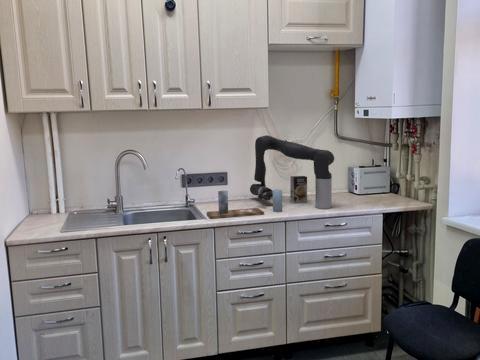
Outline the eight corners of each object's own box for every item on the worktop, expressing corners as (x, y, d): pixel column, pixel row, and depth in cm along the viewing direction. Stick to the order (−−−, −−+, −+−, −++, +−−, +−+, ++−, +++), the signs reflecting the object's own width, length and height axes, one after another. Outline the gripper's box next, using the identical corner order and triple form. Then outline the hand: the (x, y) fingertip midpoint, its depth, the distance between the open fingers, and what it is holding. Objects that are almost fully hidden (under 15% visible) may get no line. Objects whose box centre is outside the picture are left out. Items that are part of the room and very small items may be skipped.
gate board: (257, 210, 252) (257, 187, 250) (264, 214, 240) (263, 190, 238) (206, 214, 245) (205, 190, 243) (210, 219, 233) (209, 194, 231)
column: (275, 209, 252) (275, 189, 250) (283, 210, 249) (283, 189, 247) (271, 211, 247) (271, 190, 246) (279, 212, 245) (279, 191, 243)
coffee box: (294, 203, 269) (293, 177, 267) (290, 201, 276) (289, 176, 273) (307, 202, 272) (307, 176, 269) (303, 200, 278) (303, 175, 276)
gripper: (254, 187, 268) (261, 192, 252) (276, 186, 271) (284, 190, 256) (254, 199, 269) (261, 204, 253) (276, 198, 272) (285, 202, 257)
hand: (273, 197), depth 254 cm, fingers open, 8 cm apart
